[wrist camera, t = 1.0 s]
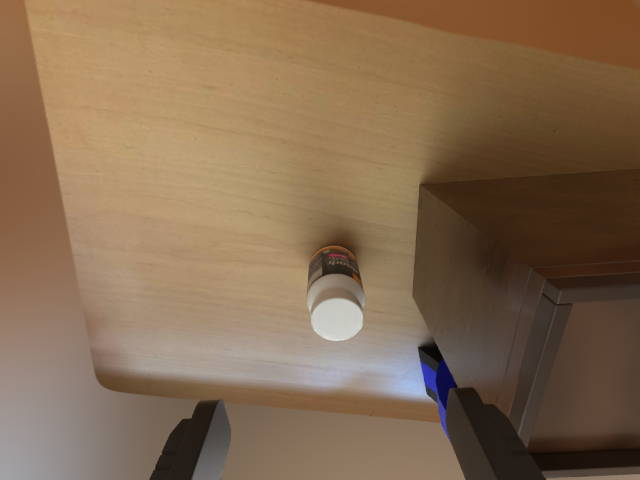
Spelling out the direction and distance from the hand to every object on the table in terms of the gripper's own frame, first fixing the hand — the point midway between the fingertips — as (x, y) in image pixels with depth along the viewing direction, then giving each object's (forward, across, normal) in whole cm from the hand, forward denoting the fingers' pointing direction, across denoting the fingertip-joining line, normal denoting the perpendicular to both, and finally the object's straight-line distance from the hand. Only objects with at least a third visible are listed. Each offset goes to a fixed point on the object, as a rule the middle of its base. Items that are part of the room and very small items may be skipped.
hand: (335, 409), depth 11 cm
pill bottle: (+24, -1, +7) cm, 25 cm away
